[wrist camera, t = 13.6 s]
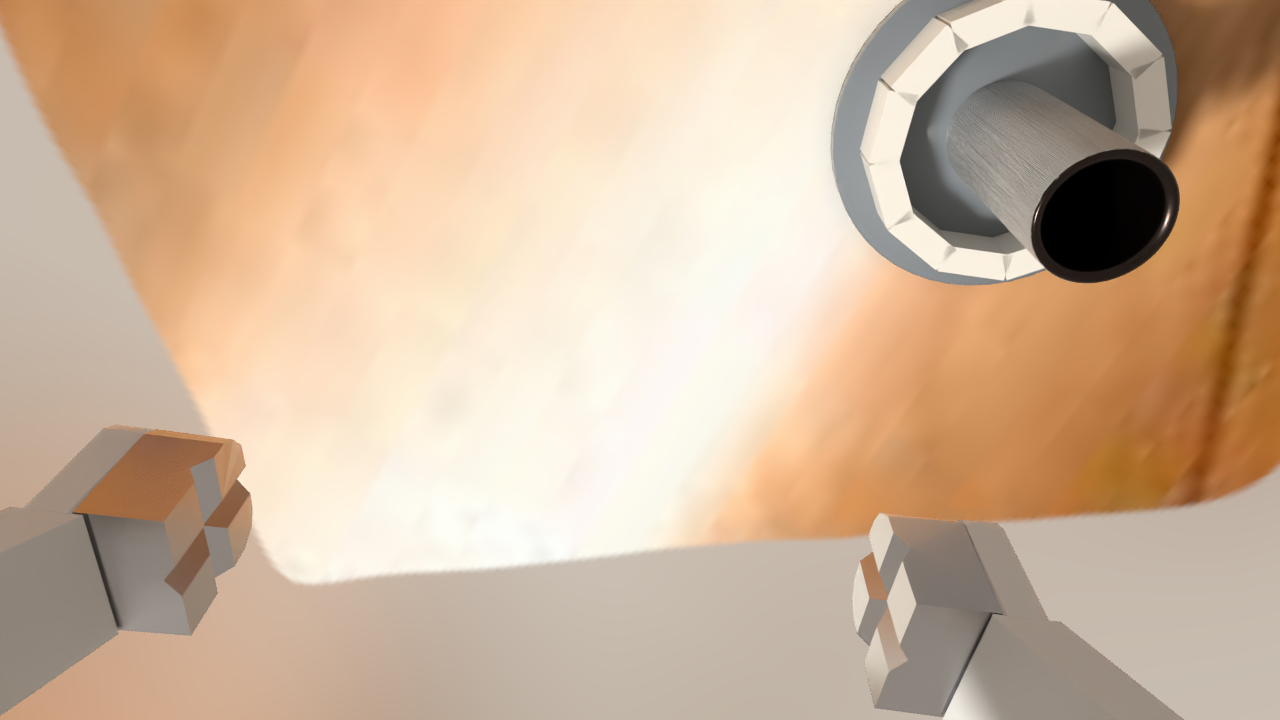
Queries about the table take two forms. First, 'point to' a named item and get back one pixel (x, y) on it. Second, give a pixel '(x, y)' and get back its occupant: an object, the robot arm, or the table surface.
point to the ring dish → (945, 77)
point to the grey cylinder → (1062, 181)
